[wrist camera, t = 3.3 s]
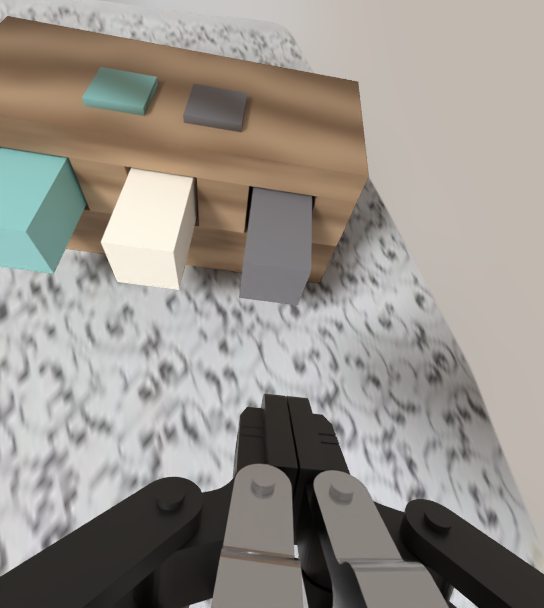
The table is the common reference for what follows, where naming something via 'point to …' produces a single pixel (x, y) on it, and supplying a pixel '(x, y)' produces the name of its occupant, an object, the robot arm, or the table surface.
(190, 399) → the table surface
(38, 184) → the key teal
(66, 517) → the table surface
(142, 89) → the block
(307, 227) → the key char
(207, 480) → the table surface
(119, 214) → the key ivory
